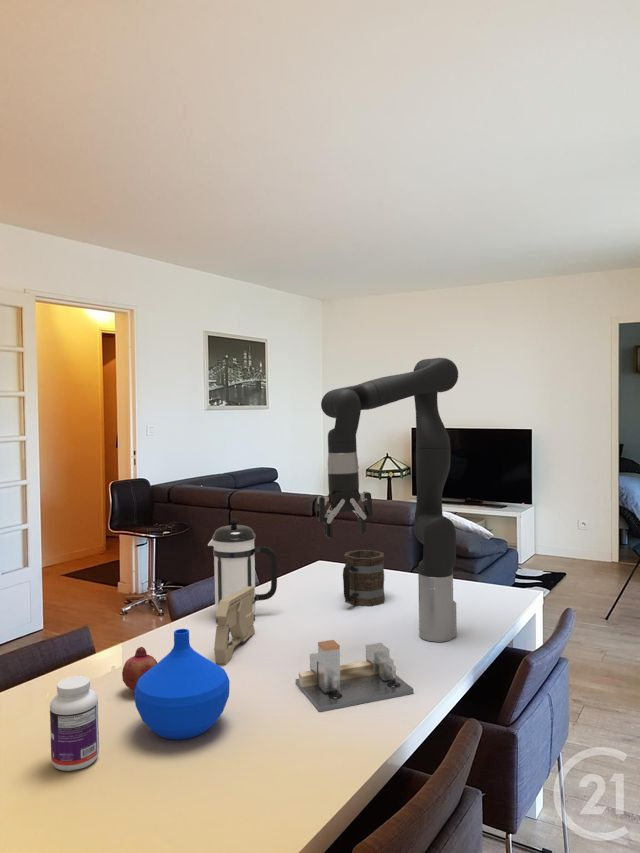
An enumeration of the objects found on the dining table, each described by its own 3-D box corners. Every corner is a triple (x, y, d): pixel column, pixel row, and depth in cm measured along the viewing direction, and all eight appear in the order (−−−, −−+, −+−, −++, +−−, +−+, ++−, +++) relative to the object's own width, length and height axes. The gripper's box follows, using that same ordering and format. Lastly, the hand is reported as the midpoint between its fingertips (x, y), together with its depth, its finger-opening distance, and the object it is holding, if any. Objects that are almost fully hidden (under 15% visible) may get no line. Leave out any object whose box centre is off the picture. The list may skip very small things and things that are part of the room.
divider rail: (386, 667, 154) (386, 657, 154) (391, 671, 151) (391, 661, 151) (298, 683, 146) (298, 672, 146) (302, 687, 144) (302, 676, 143)
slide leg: (326, 674, 149) (325, 632, 149) (345, 693, 139) (344, 648, 139) (310, 677, 148) (309, 635, 148) (327, 697, 138) (327, 651, 138)
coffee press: (234, 630, 184) (232, 524, 183) (200, 618, 195) (198, 518, 194) (279, 615, 197) (277, 516, 196) (244, 604, 208) (242, 511, 207)
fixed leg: (381, 665, 154) (380, 642, 154) (402, 682, 144) (402, 658, 144) (365, 668, 153) (365, 645, 153) (386, 685, 143) (386, 661, 143)
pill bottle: (59, 750, 120) (57, 673, 120) (104, 748, 121) (102, 671, 120) (44, 775, 112) (42, 692, 112) (92, 772, 113) (90, 690, 112)
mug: (356, 592, 220) (355, 548, 220) (392, 597, 213) (392, 552, 213) (326, 608, 203) (325, 560, 203) (365, 614, 196) (364, 565, 196)
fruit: (120, 688, 147) (119, 644, 147) (156, 681, 150) (155, 638, 150) (124, 702, 140) (123, 656, 139) (163, 695, 143) (162, 650, 143)
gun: (225, 666, 158) (226, 604, 159) (212, 666, 159) (213, 603, 160) (255, 640, 182) (255, 586, 183) (244, 639, 183) (244, 585, 183)
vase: (185, 761, 116) (182, 655, 115) (114, 735, 126) (112, 637, 125) (249, 719, 131) (247, 625, 131) (182, 698, 141) (180, 611, 140)
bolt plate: (382, 668, 156) (382, 663, 156) (413, 693, 142) (413, 688, 142) (295, 683, 148) (295, 678, 148) (319, 711, 134) (319, 706, 134)
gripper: (362, 467, 166) (364, 530, 167) (310, 471, 161) (313, 536, 161) (376, 469, 159) (378, 535, 160) (322, 474, 154) (324, 542, 154)
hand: (345, 536), depth 160 cm, fingers open, 8 cm apart
